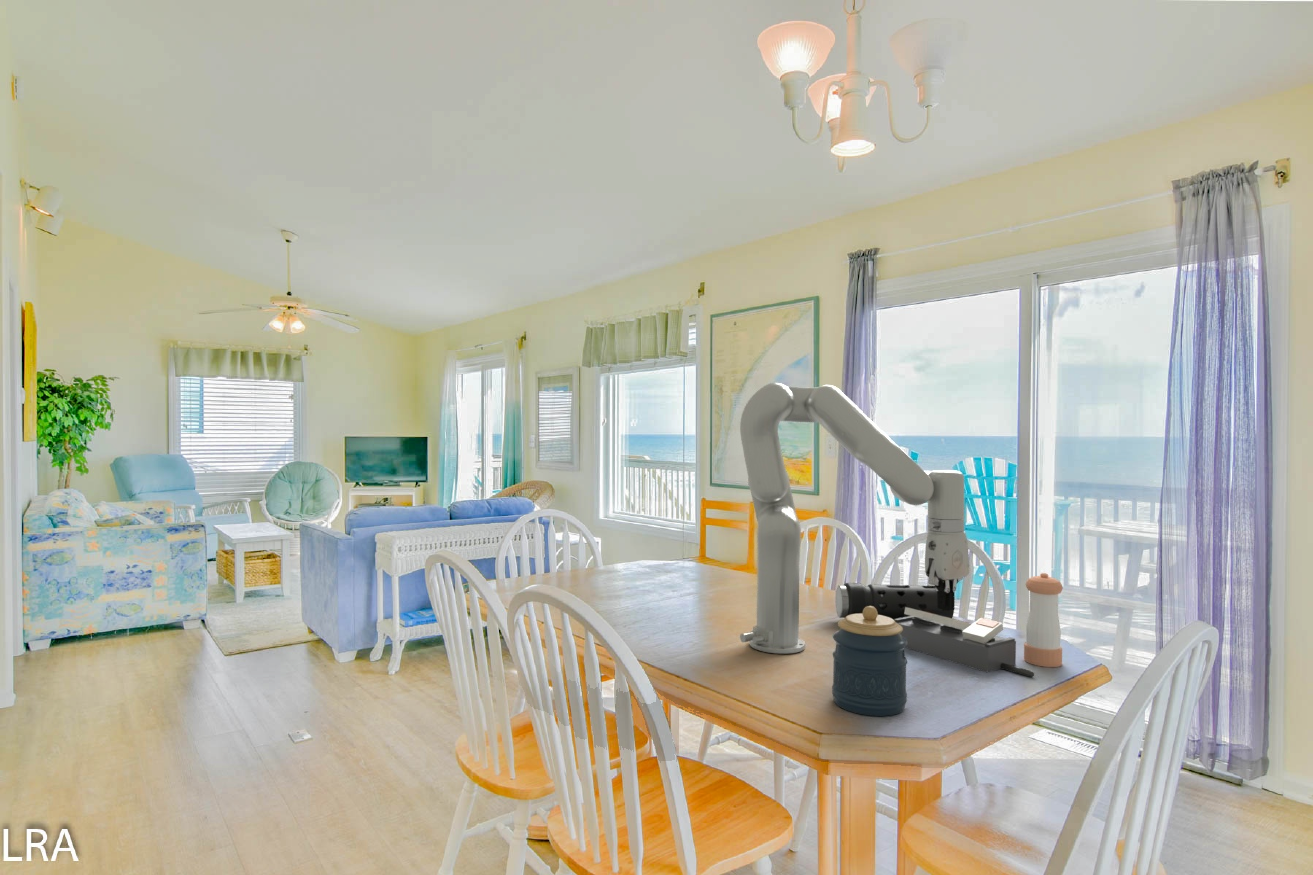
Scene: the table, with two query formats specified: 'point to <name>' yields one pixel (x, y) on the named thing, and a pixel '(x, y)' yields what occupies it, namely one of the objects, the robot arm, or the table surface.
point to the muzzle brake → (887, 599)
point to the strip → (960, 646)
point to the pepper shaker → (1043, 622)
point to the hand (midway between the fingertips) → (945, 608)
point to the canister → (869, 664)
